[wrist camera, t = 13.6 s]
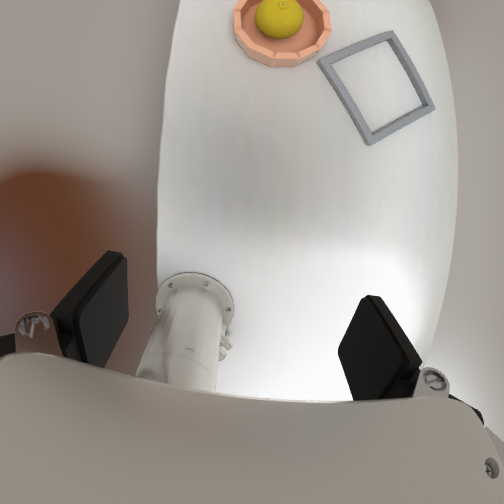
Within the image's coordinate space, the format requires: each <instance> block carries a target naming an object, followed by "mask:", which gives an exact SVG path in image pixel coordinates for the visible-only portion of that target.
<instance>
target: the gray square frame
mask: <svg viewBox="0 0 504 504" xmlns="http://www.w3.org/2000/svg"><path fill="white" fill-rule="evenodd" d="M386 40H387V41H388V43H389V44H390V46H391V47H392V49H393V50H394V52H395V54H396V55H397V57H398V59H399V60H400V62H401V64H402V66H403V67H404V69H405V71H406V73H407V74H408V76H409V78H410V80H411V82H412V84H413V86H414V88H415V90H416V92H417V94H418V96H419V98H420V100H421V102H422V104H423V106H421V107H419V108H418V109H416V110H414V111H412V112H410V113H408V114H406V115H405V116H403V117H401V118H399V119H397V120H395V121H394V122H392V123H390V124H388V125H386V126H384V127H383V128H381V129H379V130H377V131H376V132H374V133H371V131H370V129H369V127H368V125H367V123H366V122H365V120H364V118H363V116H362V114H361V113H360V111H359V109H358V107H357V106H356V104H355V102H354V100H353V99H352V97H351V95H350V94H349V92H348V90H347V89H346V87H345V86H344V84H343V82H342V81H341V79H340V78H339V76H338V75H337V73H336V72H335V70H334V69H333V67H332V66H331V64H332V63H334V62H336V61H338V60H340V59H342V58H345V57H347V56H349V55H351V54H354V53H356V52H358V51H361V50H363V49H365V48H368V47H370V46H373V45H375V44H378V43H380V42H383V41H386ZM317 64H318V65H319V67H320V68H321V70H322V71H323V73H324V74H325V76H326V77H327V79H328V80H329V82H330V83H331V85H332V86H333V88H334V90H335V91H336V93H337V94H338V96H339V98H340V99H341V101H342V102H343V104H344V106H345V107H346V109H347V111H348V113H349V114H350V116H351V118H352V119H353V121H354V123H355V125H356V127H357V128H358V130H359V132H360V134H361V136H362V138H363V140H364V141H365V143H366V145H369V146H371V145H373V144H375V143H376V142H378V141H380V140H382V139H383V138H385V137H387V136H389V135H390V134H392V133H394V132H396V131H397V130H399V129H401V128H403V127H405V126H406V125H408V124H410V123H412V122H414V121H415V120H417V119H419V118H421V117H423V116H424V115H426V114H428V113H430V112H432V111H434V110H435V109H436V108H435V106H434V104H433V102H432V100H431V98H430V95H429V93H428V91H427V89H426V87H425V85H424V83H423V81H422V79H421V77H420V75H419V74H418V72H417V70H416V68H415V66H414V64H413V63H412V61H411V59H410V57H409V56H408V54H407V52H406V51H405V49H404V47H403V46H402V44H401V42H400V41H399V39H398V38H397V36H396V35H395V33H394V32H393V30H391V31H388V32H386V33H383V34H380V35H377V36H375V37H372V38H369V39H367V40H364V41H362V42H359V43H357V44H354V45H352V46H350V47H347V48H345V49H343V50H340V51H338V52H336V53H334V54H332V55H329V56H327V57H325V58H323V59H321V60H319V61H318V62H317Z"/></svg>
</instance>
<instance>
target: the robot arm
mask: <svg viewBox="0 0 504 504" xmlns="http://www.w3.org/2000/svg"><path fill="white" fill-rule="evenodd" d="M206 281H207V282H206ZM127 289H128V288H127V258H125V257H123V254H122V253H119V252H115V251H109V250H108V251H107V252H106V253H105V254H104V255H103V256H102V257H101V258H100V259H99V260H98V261H97V262H96V263H95V264H94V265H93V266H92V267H91V269H89V271H88V272H87V273H86V274H85V275H84V276H83V277H82V278H81V279H80V280H79V281H78V282H77V283H76V285H75V286H74V287H73V288H72V289H71V290H70V291H69V292H68V293H67V295H66V296H65V297H64V298H63V299H62V300H61V302H60V303H59V304H58V305H57V306H56V307H55V309H54V310H53V312H52V313H51V314H50V315H48V314H46V313H44V312H30V313H27V314H25V315H23V316H22V317H21V318H20V319H19V320H18V321H17V323H16V325H15V333H13V334H9V335H5V336H1V337H0V504H504V442H502V441H501V440H500V439H499V438H498V437H497V436H496V435H495V434H494V433H493V432H492V431H491V430H490V429H489V428H488V427H484V422H483V418H482V415H481V413H480V412H479V411H478V410H477V409H475V408H473V407H471V406H469V405H468V404H466V403H464V402H462V401H461V400H459V399H457V398H455V397H454V396H452V395H450V394H449V388H450V387H449V382H448V380H447V378H446V377H445V375H444V374H442V373H441V372H440V371H438V370H437V369H434V368H430V367H426V368H423V369H422V370H421V371H420V369H419V366H420V365H421V363H422V360H421V358H420V357H419V355H418V353H417V352H416V350H415V349H414V347H413V345H412V344H411V342H410V341H409V339H408V337H407V336H406V334H405V333H404V331H403V330H402V328H401V327H400V325H399V324H398V322H397V320H396V319H395V317H394V316H393V314H392V313H391V311H390V310H389V308H388V307H387V306H386V304H385V303H384V301H383V300H382V298H381V297H379V296H372V295H367V296H366V297H365V298H362V299H361V301H360V303H359V305H358V307H357V309H356V312H355V314H354V316H353V318H352V320H351V322H350V324H349V327H348V329H347V331H346V333H345V335H344V337H343V339H342V341H341V343H340V345H339V347H338V356H339V359H340V361H341V364H342V367H343V370H344V373H345V376H346V379H347V382H348V385H349V388H350V391H351V394H352V397H353V400H354V401H305V400H284V399H269V398H258V397H248V396H239V395H230V394H223V393H216V392H215V388H216V378H217V369H218V361H221V360H223V359H224V358H225V356H226V352H225V351H223V350H222V349H221V348H220V343H221V344H222V346H224V347H225V348H226V349H227V350H229V349H231V348H232V346H233V344H232V343H231V342H230V341H229V340H228V339H227V338H226V337H225V330H226V329H227V328H228V327H229V325H230V324H231V322H232V318H233V312H234V307H233V301H232V298H231V296H230V294H229V293H228V291H227V290H226V289H225V288H224V286H222V285H221V284H220V283H219V282H218V281H216V280H214V279H212V278H211V277H208V276H205V275H203V274H198V273H182V274H178V275H175V276H173V277H171V278H169V279H167V280H166V281H165V282H164V283H163V284H162V286H161V287H160V289H159V291H158V293H157V295H156V300H155V306H156V312H157V314H158V318H157V320H156V323H155V326H154V328H153V330H152V333H151V336H150V338H149V341H148V343H147V346H146V348H145V351H144V353H143V356H142V358H141V361H140V364H139V366H138V369H137V372H136V375H135V377H134V376H130V375H126V374H122V373H119V372H115V371H111V370H108V369H104V367H105V365H106V363H107V361H108V359H109V357H110V355H111V353H112V351H113V349H114V347H115V345H116V343H117V341H118V339H119V337H120V335H121V333H122V331H123V329H124V327H125V326H126V324H127V321H128V316H129V313H128V290H127Z"/></svg>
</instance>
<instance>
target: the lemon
mask: <svg viewBox="0 0 504 504" xmlns="http://www.w3.org/2000/svg"><path fill="white" fill-rule="evenodd" d="M254 17H255V23H256V26H257V28H258V29H259V30H260V31H261V32H262V33H263V34H264V35H266V36H268V37H270V38H274V39H285V38H288V37H291V36H293V35H294V34H296V33H297V32H298V31H299V30H300V28H301V27H302V24H303V21H304V13H303V10H302V8H301V6H300V4H299V3H298V2H297V1H296V0H263V1H262V2H261V3H260V4H259V5H258V7H257V8H256V11H255V15H254Z"/></svg>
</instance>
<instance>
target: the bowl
mask: <svg viewBox="0 0 504 504" xmlns="http://www.w3.org/2000/svg"><path fill="white" fill-rule="evenodd" d="M262 1H263V0H239V2H238V3H237V5H236V6H235V8H234V9H233V16H234V31H235V38H236V42H237V43H238V44H239V45H240V47H241V48H242V49H243V50H244V52H245V53H246V54H247V55H248V57H249V58H252V59H254V60H256V61H259V62H261V63H263V64H265V65H267V66H270V67H294V66H296V65H298V64H300V63H302V62H304V61H306V60H308V59H310V58H312V57H314V55H315V54H316V53H317V52H318V51H319V50H320V49H321V48H322V46H323V45H324V43H325V41H326V40H327V38H328V36H329V35H330V33H331V24H330V16H329V11H328V10H327V8H326V7H325V6H324V5H323V4H322V2H321V1H320V0H296V1H297V2H298V3H299V4H300V6H301V8H302V10H303V13H304V21H303V24H302V27H301V28H300V30H299V31H298V32H297V33H296V34H294V35H293V36H291V37H288V38H285V39H274V38H270V37H268V36H266V35H264V34H263V33H262V32H261V31H260V30H259V29H258V28H257V26H256V23H255V17H254V15H255V11H256V8H257V7H258V5H259V4H260V3H261V2H262Z"/></svg>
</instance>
